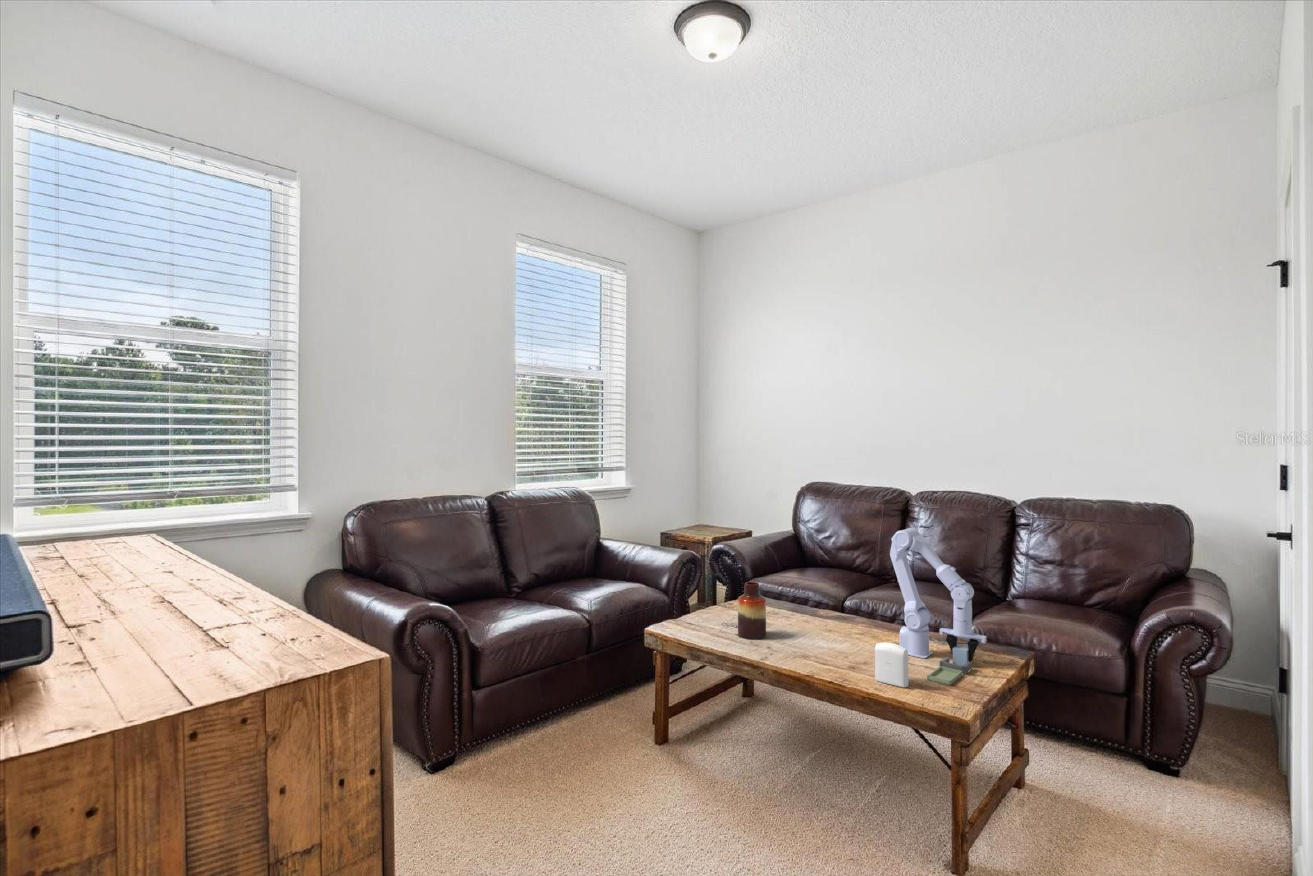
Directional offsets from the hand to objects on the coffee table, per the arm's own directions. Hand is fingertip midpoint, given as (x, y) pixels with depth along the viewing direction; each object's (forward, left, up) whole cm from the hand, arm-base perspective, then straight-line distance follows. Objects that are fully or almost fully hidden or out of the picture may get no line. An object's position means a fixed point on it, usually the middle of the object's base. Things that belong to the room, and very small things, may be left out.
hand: (962, 659), depth 223 cm
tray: (0, -18, -1) cm, 18 cm away
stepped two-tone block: (0, +1, -1) cm, 2 cm away
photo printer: (-11, -33, -2) cm, 35 cm away
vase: (-71, -21, -2) cm, 74 cm away
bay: (0, -7, -1) cm, 7 cm away
